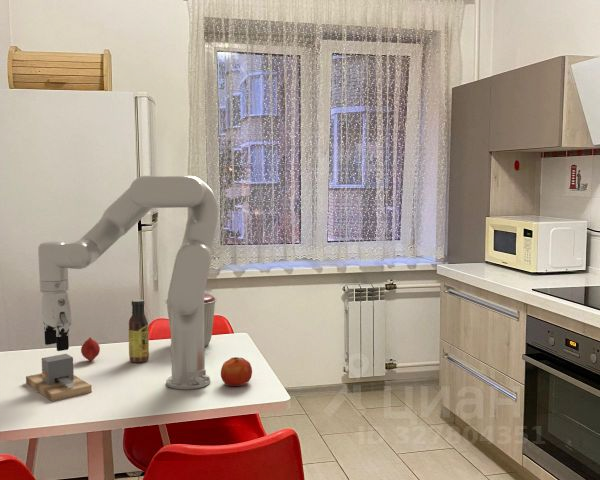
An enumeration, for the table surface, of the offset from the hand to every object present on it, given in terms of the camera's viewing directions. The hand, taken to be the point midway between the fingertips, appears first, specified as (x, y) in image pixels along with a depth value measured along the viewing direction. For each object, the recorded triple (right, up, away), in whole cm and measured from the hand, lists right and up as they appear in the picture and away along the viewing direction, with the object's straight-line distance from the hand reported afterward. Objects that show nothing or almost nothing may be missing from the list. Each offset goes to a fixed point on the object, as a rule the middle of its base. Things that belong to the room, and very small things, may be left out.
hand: (56, 346), depth 184 cm
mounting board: (0, -12, +1) cm, 12 cm away
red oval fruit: (+1, -9, +27) cm, 29 cm away
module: (0, -10, +1) cm, 10 cm away
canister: (+30, -7, +47) cm, 56 cm away
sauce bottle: (+16, -9, +28) cm, 34 cm away
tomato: (+50, -12, +4) cm, 52 cm away
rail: (0, -10, +1) cm, 10 cm away
